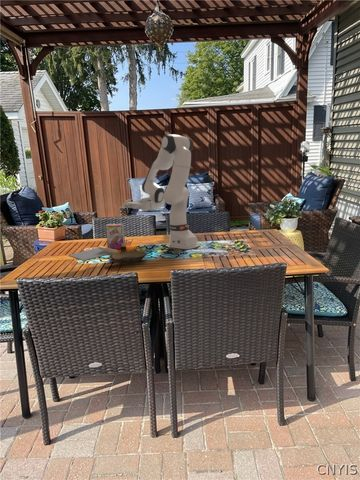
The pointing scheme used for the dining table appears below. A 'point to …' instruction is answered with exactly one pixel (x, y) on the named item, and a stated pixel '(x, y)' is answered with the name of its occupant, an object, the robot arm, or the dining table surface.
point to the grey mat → (93, 253)
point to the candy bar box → (115, 235)
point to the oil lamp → (126, 255)
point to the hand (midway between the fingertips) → (129, 207)
